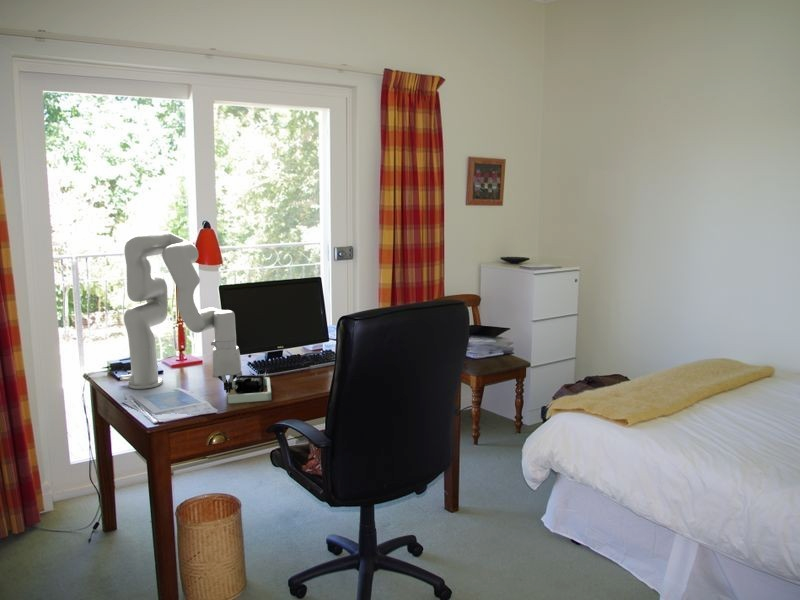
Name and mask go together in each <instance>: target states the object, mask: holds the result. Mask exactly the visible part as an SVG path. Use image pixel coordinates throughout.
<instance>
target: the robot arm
mask: <svg viewBox="0 0 800 600" xmlns="http://www.w3.org/2000/svg"><path fill="white" fill-rule="evenodd" d="M157 255H161V257H162V260H163V262H164V264H165V266H166V268H167V270H168V272H169V274H170V276H171V278H172V280H173V282H174V284H175V286H176V288H177V290H178V291H177V301H176V302H177V309H178V313H179V315H180V316H181V317H180V318H181V319H182V321H183V323H184V324H185V326H186V327H187V329H188V330H189V331H190V332H192V333H196V334H198V333H203V332H205V331H208V330H210V329H214V330H213V332H214V333H213V334H214V340H213V341H210V346H213V347H214V348H212V356H211V357H212V359H211V360H212V361H211V362H212V363H211V366H212V376H211V377H212V378H214V379H219V380H220V381H221V382H222V383H223V390H224V391H225V393H226V394H230V393H231V392H232V390H233V388H232V381H233V380H236V377H239V376H242V375H243V371H242V360H241V358H242V357H241V353H240V352H241V351H240V348H239V346H238V345H237V332H236V331H237V330H236V328H237V327H236V315H235V312H234V311H233V310H230V309H219V308H216V307H207V308H204V309H203V308H202V309H200V310H198V308H197V306H196V303H195V301H194V295H195V294H194V293H195V291H196V288H197V287H198V286H199V284H200V281H201V278H200V276H199V274H198V273H197V270H196V269H195V267H194V265H193V264H195V263H196V262H197V260H198V259H199V250H198V249H197V247H196V245H194V244H193V243H192V242H191V241H189V240H187V239H185V238H183V237H180V236H179V235H176V234H174V233H171V232H169V231H165V230H164V231H163V230H162V231H154V232H145V233H141V234H140V233H139V234H136V235H134V236H132V237H130V238H129V239H128V240H127V241H126V242H125V246H124V257H125V264H126V266H125V267H126V292H127V296H128V298H129V300H130V301H132V302H135V303H138V304H135V305H133V306H130V307H128V309H127V310H126V311H125V312H124V314H123V321H124V326H125V329H126V332H127V336H128V347H129V359H130V370H131V373H128V374H126V375H125V374H120V376H119V377H120V378H119V380H120V381H122V382H128V383H127V384H128V387H129V388H130V389H133V390H134V389H136V390H145V389H146V390H147V389H153V388H156V387H159V386H160V385H162V384H163V381H164V380H163V378H162V377H159V371H158V358H157V357H158V356H157V355H158V354H157V346H156V345H157V344H156V338H155V335H154V333H153V331H152V329H151V327H154V326H157V325H160V324H162V323H164V322H165V321H166V319H167V317H168V313H169V312H168V311H169V309H168V301H169V300H168V285H167V283H166V280H165V278H164V277H163V276H162V275H160V274H158V273H152V267H151V266H152V265H151V263H150V260H149V259H148V257H152V256H157ZM145 301H146V302H145ZM141 302H142V303H141ZM226 376H229V378H228V379H227V377H226Z"/></svg>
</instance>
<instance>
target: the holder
mask: <svg viewBox="0 0 800 600" xmlns="http://www.w3.org/2000/svg"><path fill="white" fill-rule="evenodd" d="M264 378H265V386H266V391H263V392H260V393H247V394H237V393H235V394H228V395H227V402H228V404H240V403H251V402H252V403H253V402H263V401H264V402H265V401H272V388H271V378H270V376H266V377H265V376H264ZM235 381H236V379H234V380H233V381H232V389H235V388H236V387H237V385H235Z"/></svg>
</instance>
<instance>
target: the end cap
mask: <svg viewBox="0 0 800 600" xmlns="http://www.w3.org/2000/svg"><path fill="white" fill-rule="evenodd" d="M264 377H265V375H261V374H260V375H257V374H251V375H250V374H249V375H248V374H246V375H245V374H242V376H239V377H236V378H235V380H236V381H235V385H237V387H236V388H234V392H235V394H247V393H260V392H265V388H266V385H265V378H264Z"/></svg>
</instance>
